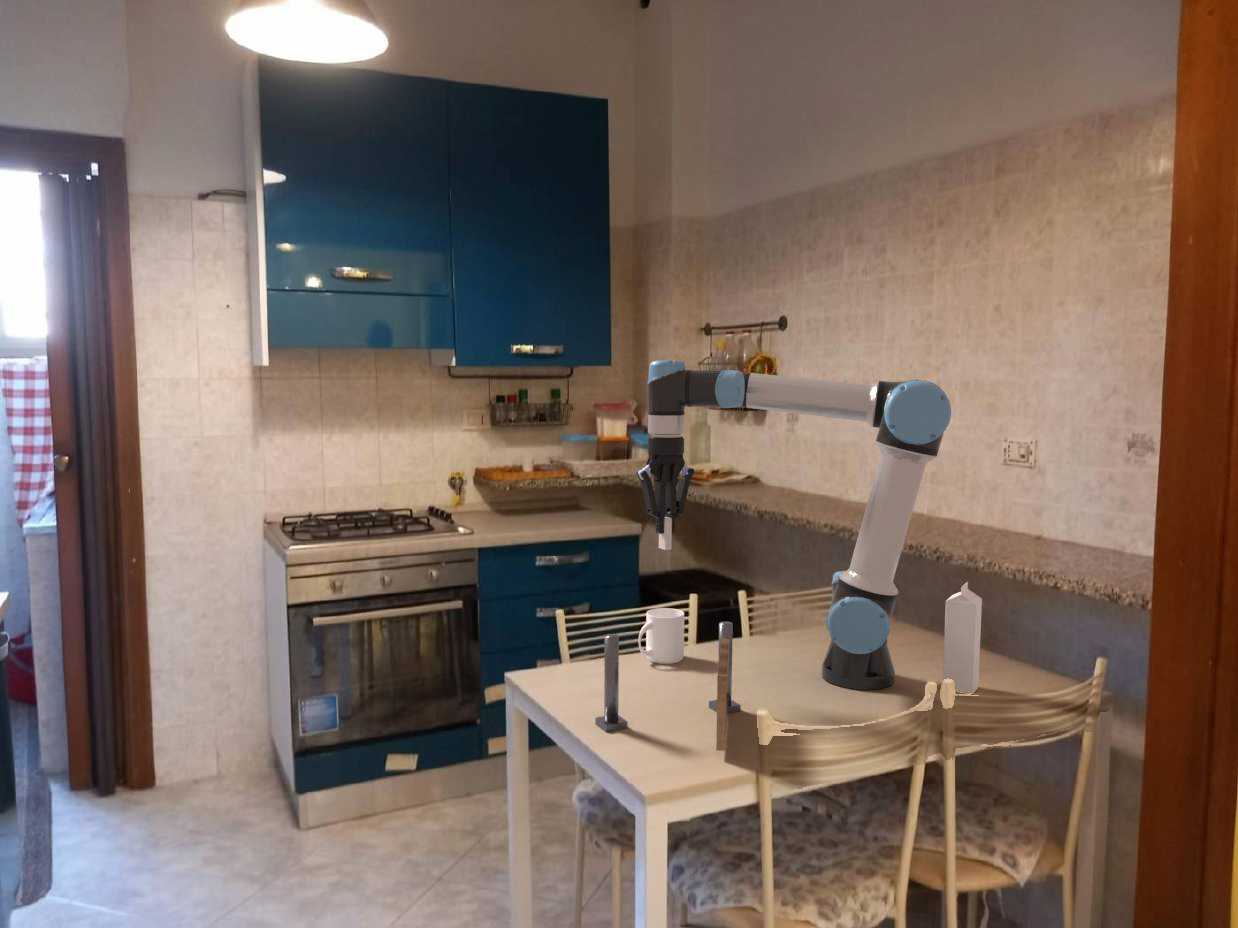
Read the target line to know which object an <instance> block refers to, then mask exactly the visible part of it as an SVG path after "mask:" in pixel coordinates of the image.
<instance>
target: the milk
mask: <svg viewBox="0 0 1238 928" xmlns="http://www.w3.org/2000/svg"><path fill="white" fill-rule="evenodd" d="M968 584H969V582H968V581H966V583H964V584H963V585H962V586H961V587H960V590H961V591H959V592H956V593H954V594H952V595H951V596H949V597H948V598H947V599H946V600H945V611H944V612H945V614H944V615H945V616H944V639H943V640H944V641H943V663H942V665H943V666H942V681H943V680H944V679H947V678H949V679H952V680H954V682H955V690H956V692H963V693H974V694H975V692H976V691H977V689H978V688H979V676H980V658H981V657H980V655H981V654H980V653H981V630H982V629H981V628H982V611H983V610H982V607H983V598H981V597H980V596H979V595H977V594H976V593H975V592H973V591H972V590H970V589H969V587H968V586H969V585H968Z"/></svg>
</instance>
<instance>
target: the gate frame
mask: <svg viewBox="0 0 1238 928" xmlns="http://www.w3.org/2000/svg"><path fill="white" fill-rule="evenodd" d="M733 624H734V623H733V622H731V621H719V623H718V658H719V657H720V647H721V638H728V639H729V694H728V714H730V713H731V714H732V713H736V712H737V713H738V712H740V711H741V709H742V708H741V707H742V706H741V704H740V703H738V702H736V701H734V700H732V694H733V693H732V688H733V687H732V685H733V683H732V681H733V680H732V679H733V678H732V677H733V634H734V633H733ZM619 638H620V637H619V634H616V633H608V634H604V661H603V662H604V664H603V665H604V666H603V667H604V669H603V670H604V672H603V673H604V675H603V676H604V677H603V678H604V684H603V685H604V687H603V688H604V695H603V697H604V699H603V700H604V706H603V707H604V708H603V709H604V711H603V712H604V714H603V715H602V716H597V717H595V722H594V723H595V725H596V726H597V727H598V728H600V729H601V730H603V731H604V732H605V733H608V732H614V731H619V730H624V729H628V728H629V727H628V720H626V719H624V717H622V716H620V715H619V693H620V692H619V690H620V689H619V679H620V678H619V677H620V675H619V672H620V671H619V670H620V669H619V664H620V663H619V661H620V660H619V659H620V658H619V654H620V653H619V651H620V649H619V648H620V647H619V643H620V641H619V640H620V639H619ZM717 664H718V665H717V666H719V660H718V663H717ZM708 708H709V709H710V710H712V711H714V712H715V713H717V699H713V700H709V701H708Z"/></svg>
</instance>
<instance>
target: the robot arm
mask: <svg viewBox="0 0 1238 928" xmlns="http://www.w3.org/2000/svg"><path fill="white" fill-rule="evenodd" d="M647 394H648V395H647V399H648V401H647V403H648V404H647V405H648V406H647V408H648V411H647V412H648V415H647V434H649V435H650V436H648V438H647V455H648V459H647V461H646V466H644V467H643V468H641V469H638V470H636V476H637V477H638V479H639V480H640V484H641V485H640V486H641V488H642V489H641V490H642V494H643V498H644V503H645V509H646V513H647V515H649V516H653V517H654V518H655V532H656V533H657V534H658V548H659V549H661V550H664V551H670V550H672V548H673V547H672V542H673V541H672V538H673V537H672V536H673V535H672V533H675V530H676V519H677V518H678V517H679V515H683V513H684V512H685V506H686V502H687V496H688V493H689V488H690V483H691V479H692V478H693V476H694V474H695V469H694V468H692V467H690V466H688V465H687V464H686V460H685V458H684V453H685V438H684V437H683V436H682V435H684V434H686V433H685V409H686V408H687V407H688V408H723V409H730V408H746V409H756V410H766V411H773V412H780V413H782V412H783V413H791V414H799V415H806V416H808V415H809V416H815V417H824V418H831V419H832V418H834V419H842V420H851V421H857V422H858V421H860V422H866V423H867V424H868V425H869V426H870V427H871V428H878V432H877V436H876V438H875V443H876V445H877V448H878V449H879V450H880V455H879V459H878V462H877V466H876V469H875V474H874V478H873V480H872V485H871V489H870V492H869V496H868V499H867V503H866V507H865V510H864V514H863V517H862V521H861V524H860V528H859V532H858V535H857V539H856V543H855V547H854V550H853V553H852V557H851V560H850V565H849V568H847V570H842V571H836V572H834V573H833V574H832V581H831V587H832V591H831V595H832V596H831V602H830V608H829V611H828V613H827V616H826V628H827V632H828V633H829V636H830V642H829V645H828V648H827V651H826V653H825V656H824V657H823V662H822V664H821V676H822V678H823V680H824V681H826V682H828V683H830V684H832V685H835V686H838V687H843V688H847V689H855V690H880V689H885V688H888V687H890V686H893V684H894V683H895V681H896V680H895V679H896V678H895V677H896V671H895V667H894V664H893V660H892V656H891V653H890V649H889V647H888V637H889V634H890V632H891V627H890V626H891V619H892V615H893V613H894V612H893V611H894V608H895V604H896V601H897V598H898V594H899V590H898V588H897V587H896V584H895V583H894V580H895V579H894V578H895V575H896V571H897V569H898V564H899V561H900V557H901V554H902V551H903V547H904V543H905V540H906V536H907V533H908V529H909V526H910V522H911V519H912V514H913V511H914V508H915V503H916V501H917V498H918V497H917V496H918V493H919V491H920V487H921V484H922V479H923V476H924V474H925V473H924V472H925V469H926V466H927V464H928V463H929V462H931V461H933V460H935V459H936V458H937V457H938V453H939V450H940V447H941V443H942V439H943V436H944V433H945V431H946V430H947V428H948V426H949V425H950V421H951V417H952V408H951V402H950V400H949V398H948V396H947V394H946V393H945V391H944V390H943V389H942V388H941V387H940V386H938V385H937V384H935V383H934V382H931V381H928V380H926V379H925V380H924V379H923V380H922V379H910V380H904V381H885V380H884V381H882V380H877V381H874V383H872V384H865V383H864V384H863V383H856V382H855V383H854V382H845V381H835V380H824V379H815V378H805V377H797V376H787V375H786V376H784V375H775V374H765V373H757V372H746V371H745V372H744V371H740V370H731V369H708V370H707V369H706V370H705V369H704V370H703V369H702V370H692V369H687V368H686V363H685V361H683V360H663V359H662V360H657V359H656V360H653V361H651V362H650V363H649V367H648V380H647ZM679 475H680V476H679ZM651 476H652V477H653V483H652V479H651ZM678 478H679V479H678ZM653 484H654V487H653Z"/></svg>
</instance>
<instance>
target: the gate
mask: <svg viewBox="0 0 1238 928" xmlns="http://www.w3.org/2000/svg"><path fill="white" fill-rule="evenodd" d="M718 661H719V666H718V665H717V666H718V667H717V676H716V677H717V678H716V681H717V682H716V684H717V686H716V696H717V697H716V700H717V712H716V748H715V749H716V751H721V752H726V746H727V730H728V729H727V728H728V714H729V713H728V694H729V639H728V638H721V647H720V657H719V656H718Z"/></svg>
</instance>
